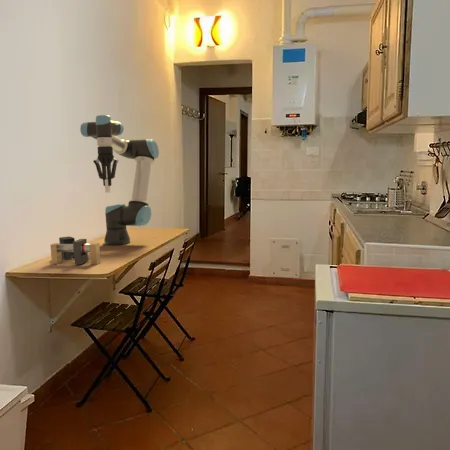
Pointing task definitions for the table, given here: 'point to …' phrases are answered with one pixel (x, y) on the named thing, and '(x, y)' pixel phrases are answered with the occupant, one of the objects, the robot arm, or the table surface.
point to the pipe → (59, 248)
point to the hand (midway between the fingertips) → (107, 192)
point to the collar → (79, 251)
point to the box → (67, 241)
